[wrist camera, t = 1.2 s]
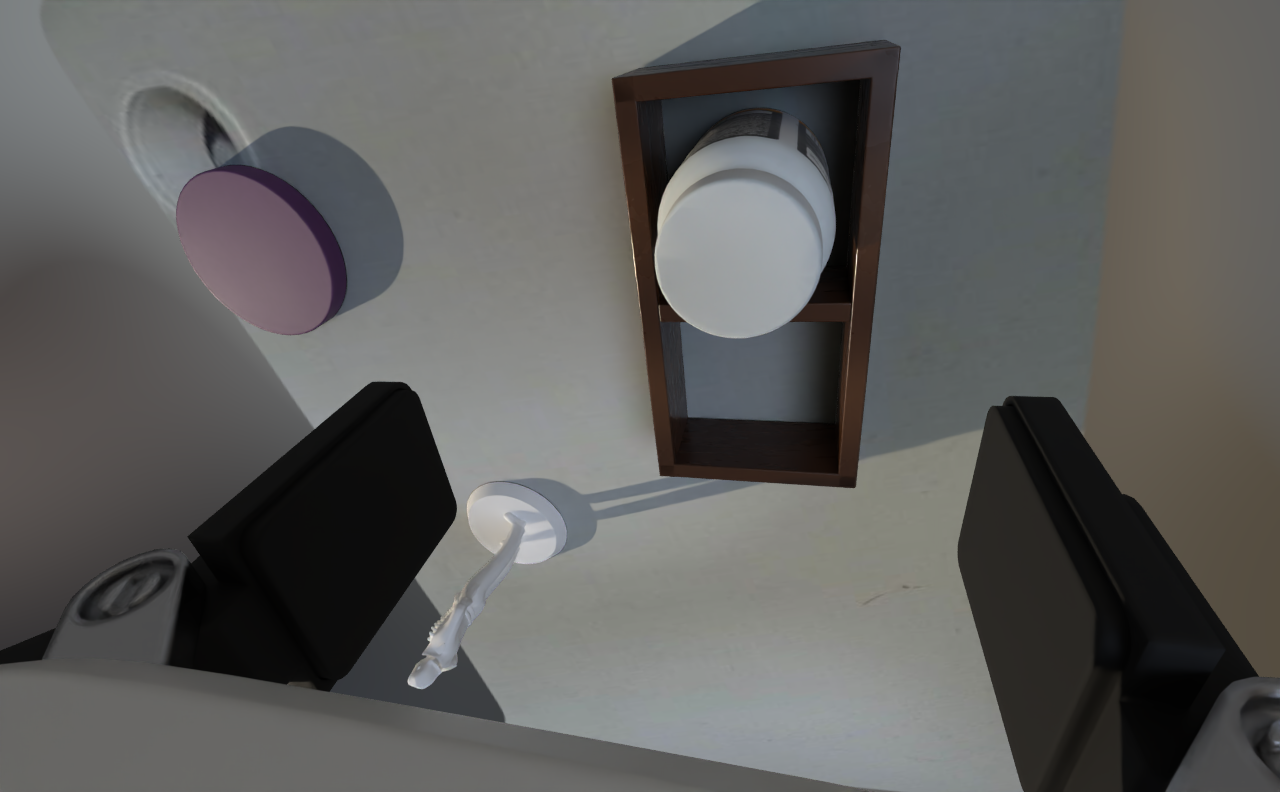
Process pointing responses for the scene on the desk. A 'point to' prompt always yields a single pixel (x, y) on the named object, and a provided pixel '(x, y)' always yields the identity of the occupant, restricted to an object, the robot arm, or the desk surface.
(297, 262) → the disc
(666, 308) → the rack
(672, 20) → the desk surface
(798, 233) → the pill bottle
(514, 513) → the figurine
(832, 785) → the robot arm
